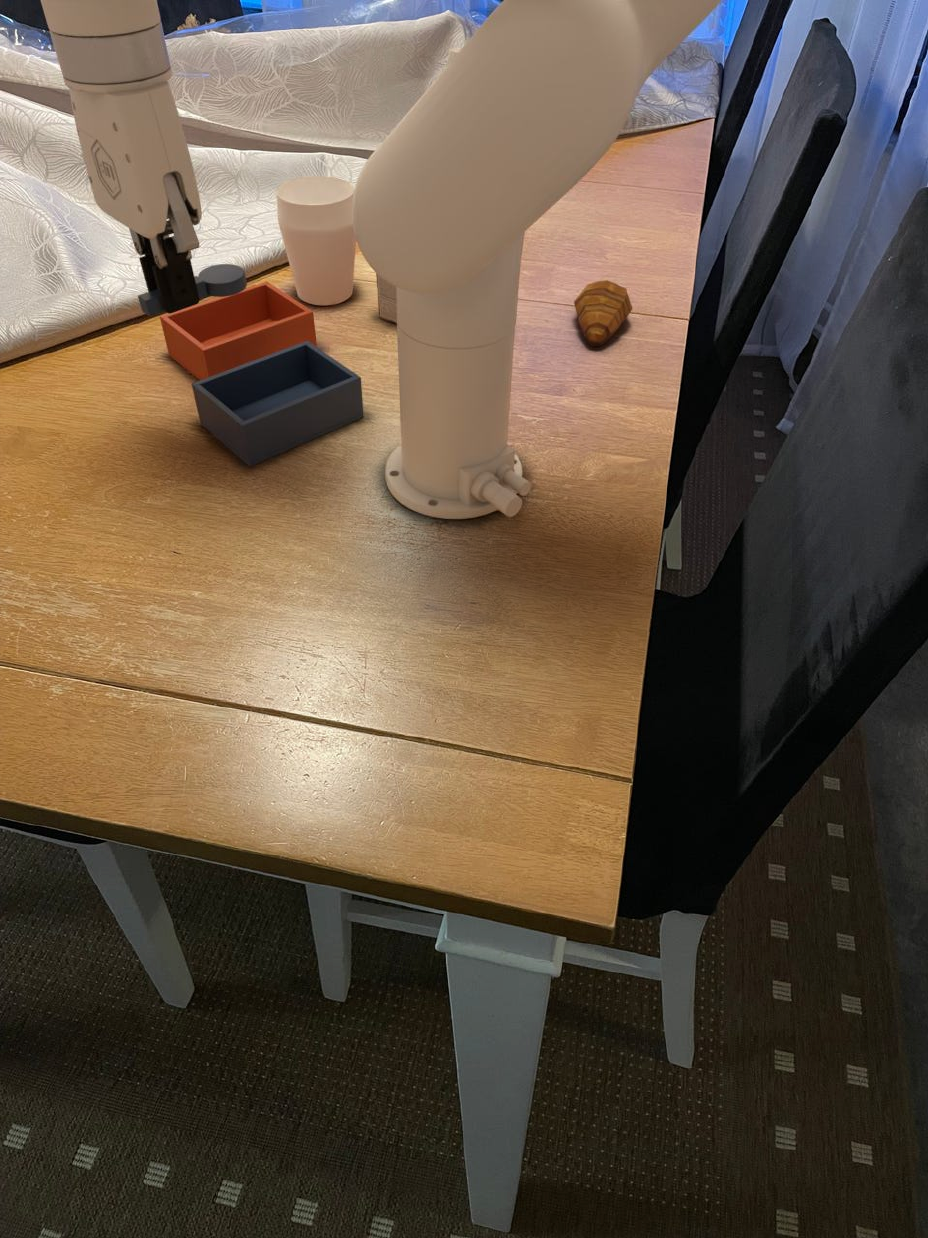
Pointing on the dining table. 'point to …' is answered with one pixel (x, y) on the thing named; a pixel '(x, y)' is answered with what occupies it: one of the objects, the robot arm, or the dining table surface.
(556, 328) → the dining table surface
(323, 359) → the blue bin
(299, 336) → the terracotta bin
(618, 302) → the croissant
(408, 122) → the robot arm
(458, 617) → the dining table surface
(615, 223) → the dining table surface
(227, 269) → the blue spoon
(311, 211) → the cup
